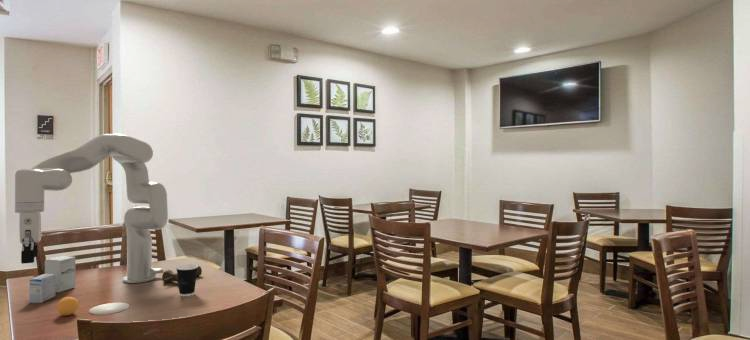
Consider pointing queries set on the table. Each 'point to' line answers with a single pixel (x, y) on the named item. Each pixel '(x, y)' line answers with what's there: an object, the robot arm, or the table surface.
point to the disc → (109, 308)
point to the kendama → (175, 275)
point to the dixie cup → (186, 279)
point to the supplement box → (62, 272)
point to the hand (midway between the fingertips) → (29, 260)
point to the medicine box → (42, 288)
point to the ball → (67, 306)
